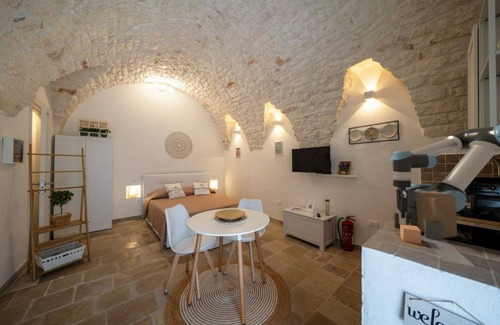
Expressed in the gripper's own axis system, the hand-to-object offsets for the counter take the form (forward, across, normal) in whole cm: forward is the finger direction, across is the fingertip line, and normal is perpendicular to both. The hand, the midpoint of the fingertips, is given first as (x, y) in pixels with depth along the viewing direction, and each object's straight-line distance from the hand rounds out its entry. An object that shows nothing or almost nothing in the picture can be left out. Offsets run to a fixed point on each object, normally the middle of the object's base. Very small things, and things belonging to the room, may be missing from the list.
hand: (401, 222), depth 99 cm
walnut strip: (+4, +11, 0) cm, 12 cm away
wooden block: (+3, +1, +14) cm, 14 cm away
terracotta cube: (+3, +16, 0) cm, 16 cm away
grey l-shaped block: (+4, +21, +10) cm, 23 cm away
